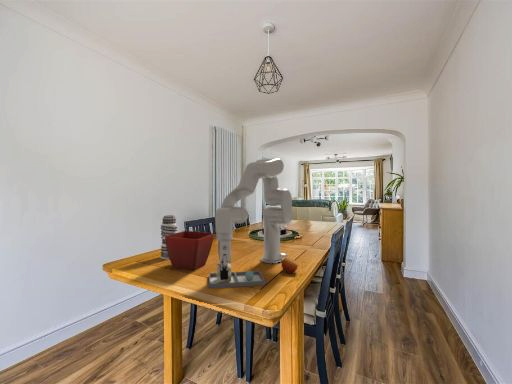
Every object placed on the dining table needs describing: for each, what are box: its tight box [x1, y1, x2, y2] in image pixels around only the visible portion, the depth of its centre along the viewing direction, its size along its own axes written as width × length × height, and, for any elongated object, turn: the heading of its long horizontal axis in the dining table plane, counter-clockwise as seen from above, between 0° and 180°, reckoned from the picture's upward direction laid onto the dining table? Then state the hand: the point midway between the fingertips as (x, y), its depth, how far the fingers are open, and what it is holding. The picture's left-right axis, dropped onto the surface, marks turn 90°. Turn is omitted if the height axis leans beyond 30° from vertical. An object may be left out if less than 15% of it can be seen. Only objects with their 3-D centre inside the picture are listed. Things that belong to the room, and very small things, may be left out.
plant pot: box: [165, 230, 215, 271], centre depth 123 cm, size 19×19×17 cm
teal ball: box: [245, 270, 254, 280], centre depth 105 cm, size 4×4×4 cm
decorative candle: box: [160, 214, 178, 260], centre depth 138 cm, size 9×9×25 cm
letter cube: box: [216, 263, 232, 282], centre depth 103 cm, size 6×6×6 cm
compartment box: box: [208, 270, 267, 289], centre depth 104 cm, size 24×13×2 cm, turn 101°
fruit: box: [281, 257, 299, 274], centre depth 117 cm, size 8×8×8 cm
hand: (223, 276), depth 103 cm, fingers closed on letter cube, 6 cm apart
